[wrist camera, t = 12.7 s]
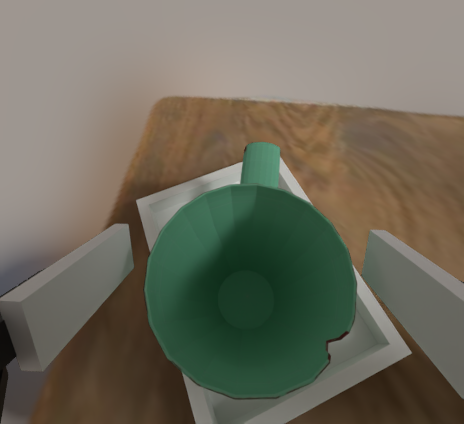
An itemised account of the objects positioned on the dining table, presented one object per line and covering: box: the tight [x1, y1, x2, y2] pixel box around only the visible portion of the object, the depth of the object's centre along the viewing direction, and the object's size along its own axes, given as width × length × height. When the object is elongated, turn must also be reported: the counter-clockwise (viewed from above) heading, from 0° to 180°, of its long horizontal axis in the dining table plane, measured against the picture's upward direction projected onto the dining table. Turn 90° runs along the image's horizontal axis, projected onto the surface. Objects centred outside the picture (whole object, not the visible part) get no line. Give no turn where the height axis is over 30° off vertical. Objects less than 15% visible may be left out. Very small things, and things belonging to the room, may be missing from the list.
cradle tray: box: [136, 157, 412, 424], centre depth 21 cm, size 15×20×2 cm
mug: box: [143, 142, 357, 400], centre depth 17 cm, size 15×10×10 cm
